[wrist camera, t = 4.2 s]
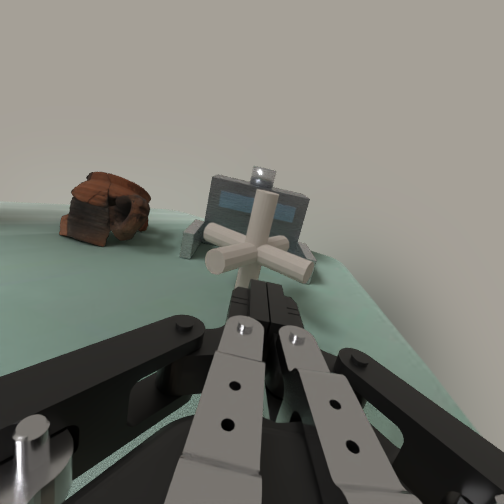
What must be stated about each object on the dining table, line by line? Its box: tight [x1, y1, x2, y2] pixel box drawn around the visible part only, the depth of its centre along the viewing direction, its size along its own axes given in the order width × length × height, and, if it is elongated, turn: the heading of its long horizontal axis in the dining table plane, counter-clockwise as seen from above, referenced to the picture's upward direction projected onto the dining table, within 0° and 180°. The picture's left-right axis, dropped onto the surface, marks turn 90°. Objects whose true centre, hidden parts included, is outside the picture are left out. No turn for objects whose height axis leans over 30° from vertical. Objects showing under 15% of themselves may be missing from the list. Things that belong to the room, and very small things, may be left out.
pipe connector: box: [204, 189, 314, 289], centre depth 23 cm, size 10×10×10 cm
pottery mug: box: [59, 172, 151, 247], centre depth 33 cm, size 12×10×8 cm
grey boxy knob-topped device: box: [180, 166, 317, 284], centre depth 37 cm, size 15×13×11 cm
